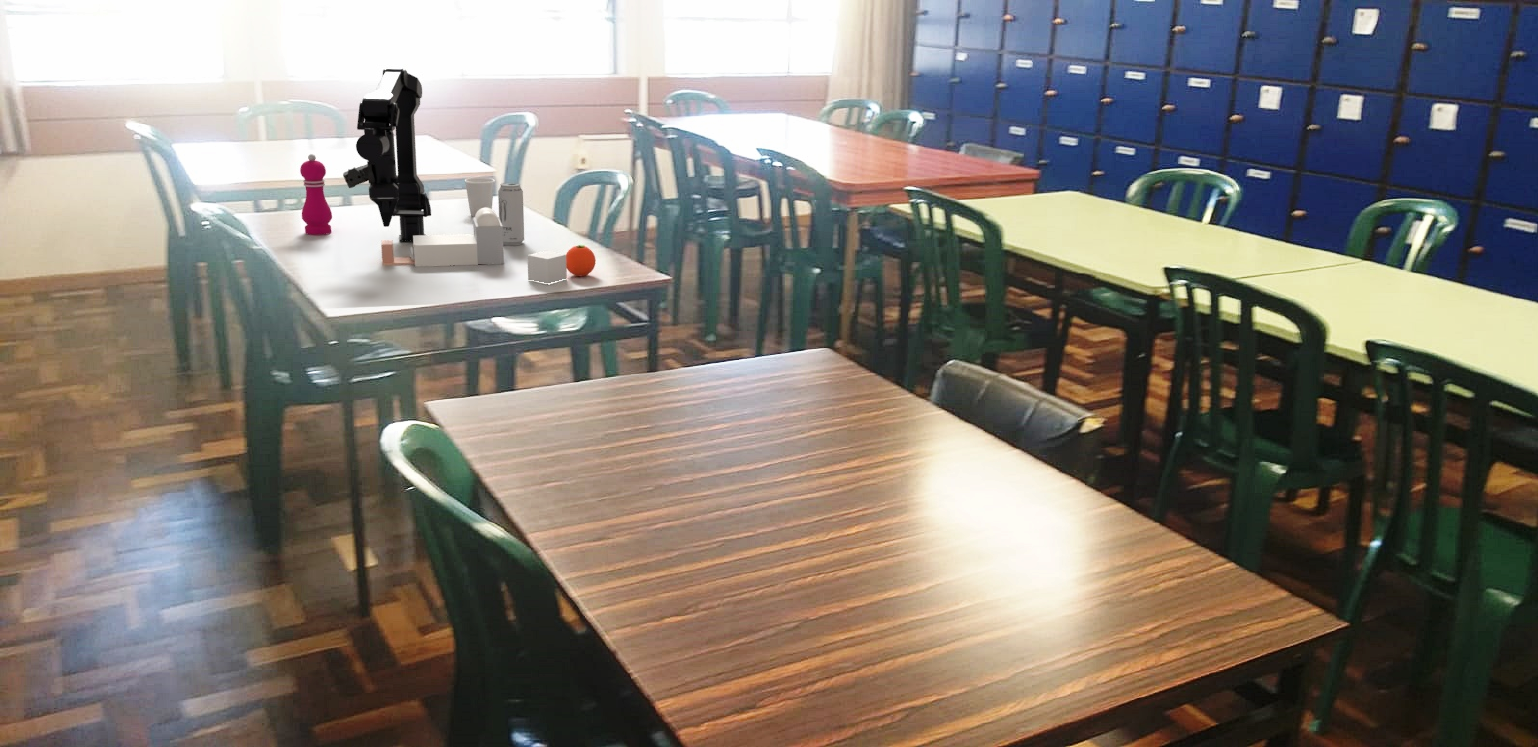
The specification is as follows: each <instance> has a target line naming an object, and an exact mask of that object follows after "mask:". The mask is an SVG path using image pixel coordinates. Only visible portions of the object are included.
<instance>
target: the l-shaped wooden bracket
mask: <svg viewBox="0 0 1538 747" xmlns="http://www.w3.org/2000/svg"><path fill="white" fill-rule="evenodd" d="M380 245H381V259H382V266H407V265H408V266H409V265H410V266H411V265H414V266H415V259H414V260H412V259H411V256H396V257H395V255H394V242H393V240H381V244H380Z"/></svg>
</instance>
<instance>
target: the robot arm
mask: <svg viewBox="0 0 1538 747" xmlns="http://www.w3.org/2000/svg"><path fill="white" fill-rule="evenodd" d="M422 98H423V87H422V83H421V82H420V80H419V78H418V77H417V76H414V75H412V74H410V73H408V71H407V70H406V69H404V68H400V67H399V68H397V67H386V68H383V70H382V78H381V79H380V81H379V83H378V85H377V87H376V89H375V90H374V92H370V93H367V94H366V95H364V97H363V98H362V101H360V103H359V106H358V108H359V109H358V116H357V123H356V124H357V126H356V129H357V130H358V131H360V130H361V131H363V132H364V133H363V135H360V137H359V138H358V139H357V140H356V144H355V149H356V152H357V154H358V155H359V156H360V158H362V159H364V160H365V161H366V163H367V164H363V165H360V166H358V167H353V168H351V169H349V168H348V169H347V171H344V172H343V174H342V176H343V178H344V180H345V183H346V184H347V187H348V188H349V189H352V188H354V187H356V186H357V185H360V184H363V183H366V182H368V184H369V186H368V195H369V196H368V197H369V199H370V201H371V202H373V203H375V204H376V205H377V208H378V211H379V215H380V218H381V221H382V224H383V227H386V228H387V227H390V224H391V221H392V218H393V217H399V225H400V226H399V228H400V229H399V230H400V234H399V235H398V239H399V242H400V243H401V242H413V236H416V235H427V234H425V224H424V218H427V217H431V216H432V209H431V203H430V200H429V198H428V194H427V193H426V192H425V185H424V183H423V182H422V180H421V179H420V178H419V176H418V173H417V152H416V151H417V150H416V133H415V132H416V130H415V128H416V126H415V115H416V112H417V110H418V109H419V108H420V106H421V99H422ZM394 131H395V135H394ZM395 139H396V140H395ZM395 143H396V147H395ZM395 148H396V149H395ZM396 159H397V160H396ZM396 161H397V166H396Z"/></svg>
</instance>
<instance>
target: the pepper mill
mask: <svg viewBox="0 0 1538 747" xmlns="http://www.w3.org/2000/svg"><path fill="white" fill-rule="evenodd" d="M316 158H317V157H316V155H315V154H312V153H311V154H309V155H308V160H306V161H304V162H303V163H302V164H301V165H300V175H301V176H302V178H303V181H302V182H303V186H304V187H305V190H306V192H305V194H306V195H305V201H304V203H303V206H302V210H301V219H302V221H303V222H304V223H305V224H306V225H305V226H304V233H305V234H306V235H310V236H324V235H330V234H331V233H332V226H331V225H330V224H329V223H330V222H331V221H332V219H333V215H332V214H333V213H332V210H331V209H332V208H331V207H330V206H329V204H328V202H327V199H326V197H325V192H324V187H325V179H324V177H325V176H326V175H327V174H326V173H327V171H326V170H327V169H326V166H325V164H324V163H323V162H321V161H319V160H316Z"/></svg>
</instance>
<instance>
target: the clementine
mask: <svg viewBox="0 0 1538 747" xmlns="http://www.w3.org/2000/svg"><path fill="white" fill-rule="evenodd" d="M565 255H566V267H567V271H568V272H569V273H570V274H572V275H573V276H575V277H584V276H587V275H589V274H591V273H592V271H594V268H595V267H596V256H595V253H594V252H593V251H592V249H591V248H589V247H587V246H585V244H579V245H575V246H573V247H571V248H570V249H568V250H567V252H566V253H565Z"/></svg>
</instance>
